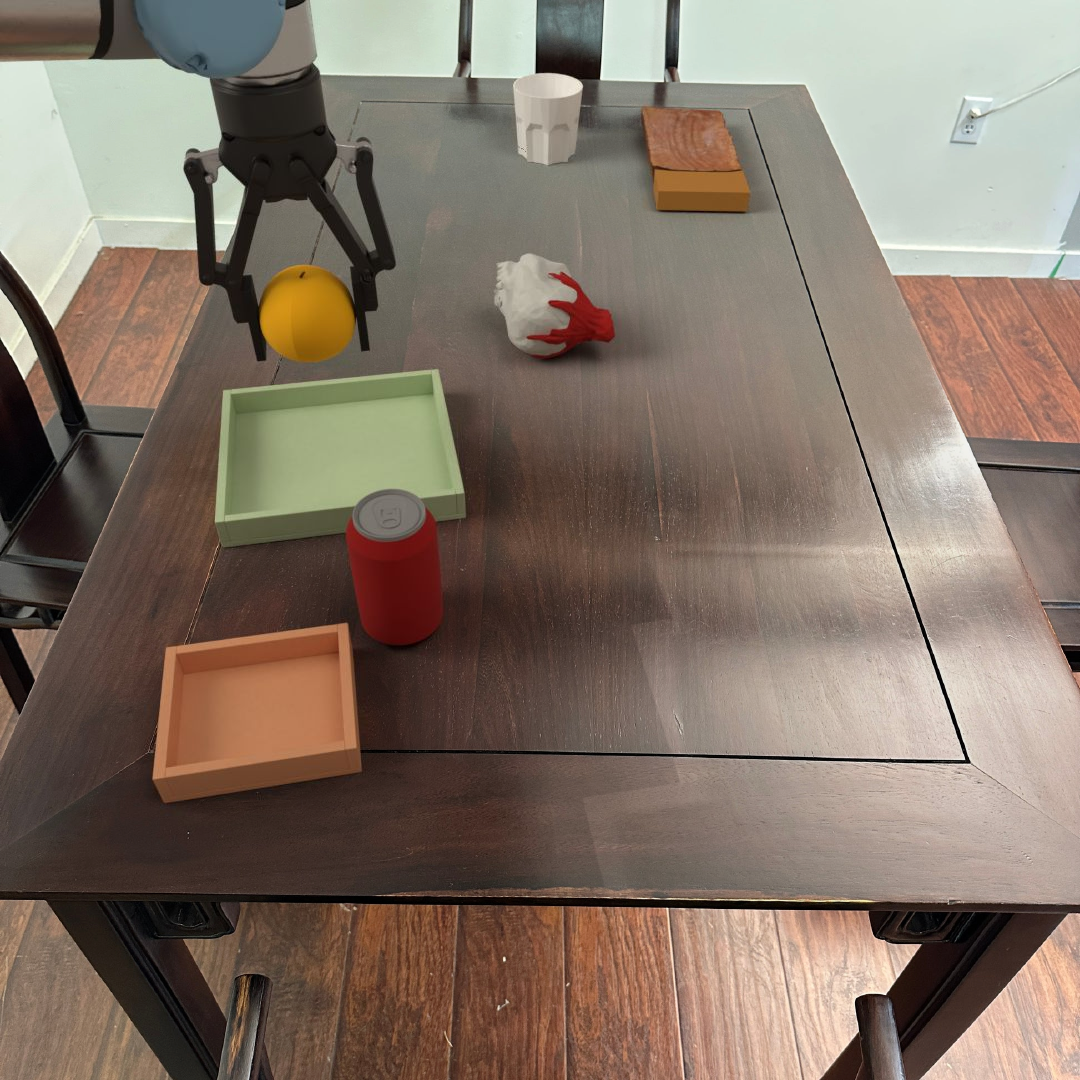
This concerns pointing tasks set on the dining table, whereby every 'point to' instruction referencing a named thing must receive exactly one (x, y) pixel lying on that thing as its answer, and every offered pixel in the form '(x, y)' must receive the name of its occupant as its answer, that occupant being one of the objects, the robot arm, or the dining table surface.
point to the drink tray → (257, 713)
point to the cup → (547, 116)
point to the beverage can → (395, 566)
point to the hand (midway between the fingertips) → (313, 347)
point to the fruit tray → (331, 454)
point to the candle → (547, 308)
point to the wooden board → (693, 161)
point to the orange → (307, 314)
